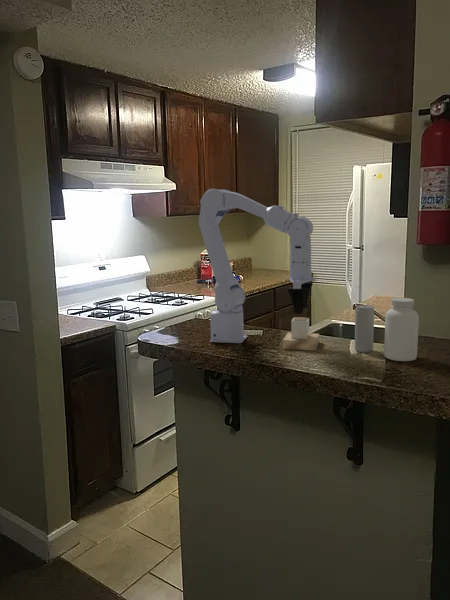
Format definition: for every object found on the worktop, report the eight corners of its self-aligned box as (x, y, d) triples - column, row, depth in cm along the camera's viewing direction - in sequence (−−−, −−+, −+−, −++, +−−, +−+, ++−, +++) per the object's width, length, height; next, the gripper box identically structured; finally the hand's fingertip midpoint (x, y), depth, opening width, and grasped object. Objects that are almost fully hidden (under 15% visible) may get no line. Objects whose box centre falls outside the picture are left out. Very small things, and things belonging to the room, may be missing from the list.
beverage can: (369, 354, 132) (370, 308, 130) (351, 351, 135) (352, 307, 133) (375, 349, 136) (377, 305, 134) (358, 347, 139) (359, 304, 137)
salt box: (291, 338, 141) (291, 319, 140) (293, 334, 145) (293, 316, 144) (307, 339, 140) (307, 320, 139) (309, 335, 144) (309, 317, 143)
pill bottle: (423, 360, 125) (426, 301, 123) (393, 363, 124) (395, 302, 122) (407, 352, 133) (409, 296, 131) (378, 354, 132) (379, 297, 129)
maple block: (282, 350, 140) (282, 340, 139) (287, 342, 148) (287, 332, 148) (315, 352, 137) (315, 341, 137) (319, 343, 146) (319, 333, 145)
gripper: (312, 264, 131) (312, 316, 133) (317, 259, 145) (317, 306, 147) (285, 264, 133) (285, 315, 135) (293, 259, 147) (293, 305, 149)
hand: (300, 310), depth 141 cm, fingers open, 7 cm apart
